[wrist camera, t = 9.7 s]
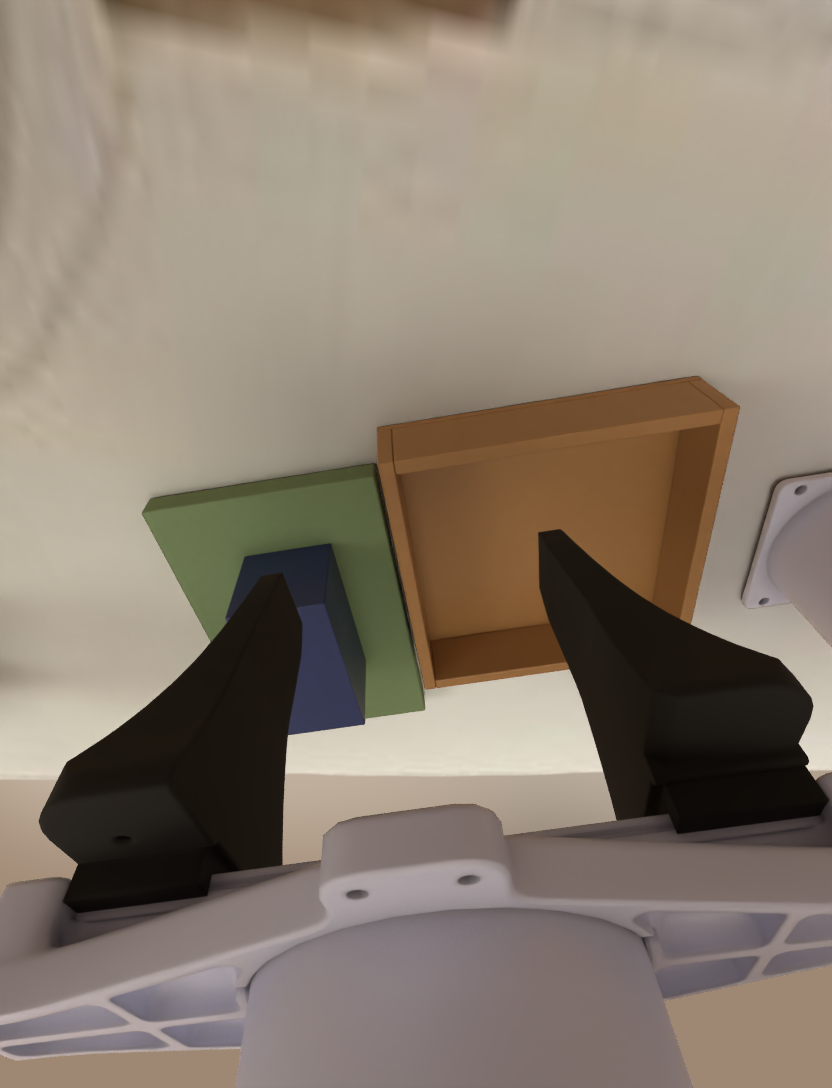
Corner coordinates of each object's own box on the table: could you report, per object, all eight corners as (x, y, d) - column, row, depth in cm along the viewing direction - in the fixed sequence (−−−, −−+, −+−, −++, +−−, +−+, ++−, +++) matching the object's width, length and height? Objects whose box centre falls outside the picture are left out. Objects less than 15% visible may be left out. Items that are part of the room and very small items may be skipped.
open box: (698, 375, 22) (741, 406, 19) (658, 609, 30) (684, 653, 27) (377, 426, 22) (376, 463, 20) (420, 644, 30) (424, 690, 28)
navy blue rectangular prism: (330, 542, 24) (324, 603, 21) (366, 660, 29) (365, 724, 26) (243, 555, 24) (224, 618, 21) (293, 671, 29) (283, 736, 26)
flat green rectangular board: (374, 462, 23) (374, 476, 22) (424, 694, 33) (425, 710, 32) (149, 497, 24) (140, 512, 23) (263, 716, 33) (259, 734, 32)
